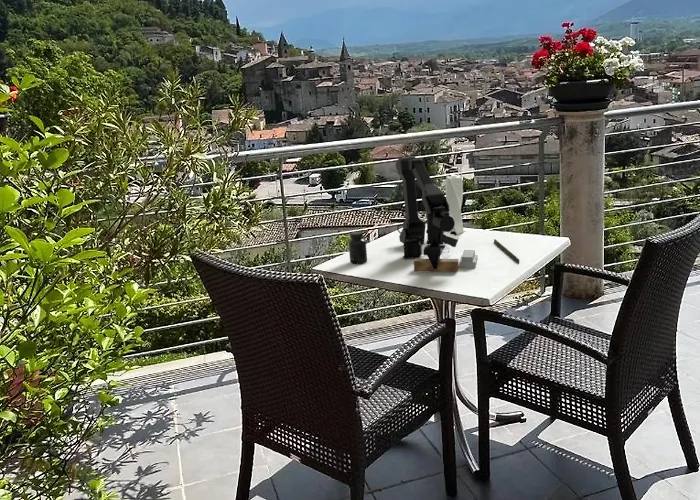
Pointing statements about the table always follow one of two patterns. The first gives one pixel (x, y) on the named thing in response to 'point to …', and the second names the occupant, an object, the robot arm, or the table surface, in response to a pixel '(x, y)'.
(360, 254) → the supplement bottle
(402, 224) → the coffee mug
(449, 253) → the table surface
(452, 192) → the skyscraper
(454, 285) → the table surface
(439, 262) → the walnut rod
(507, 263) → the table surface
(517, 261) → the rod
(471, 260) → the ridge block
